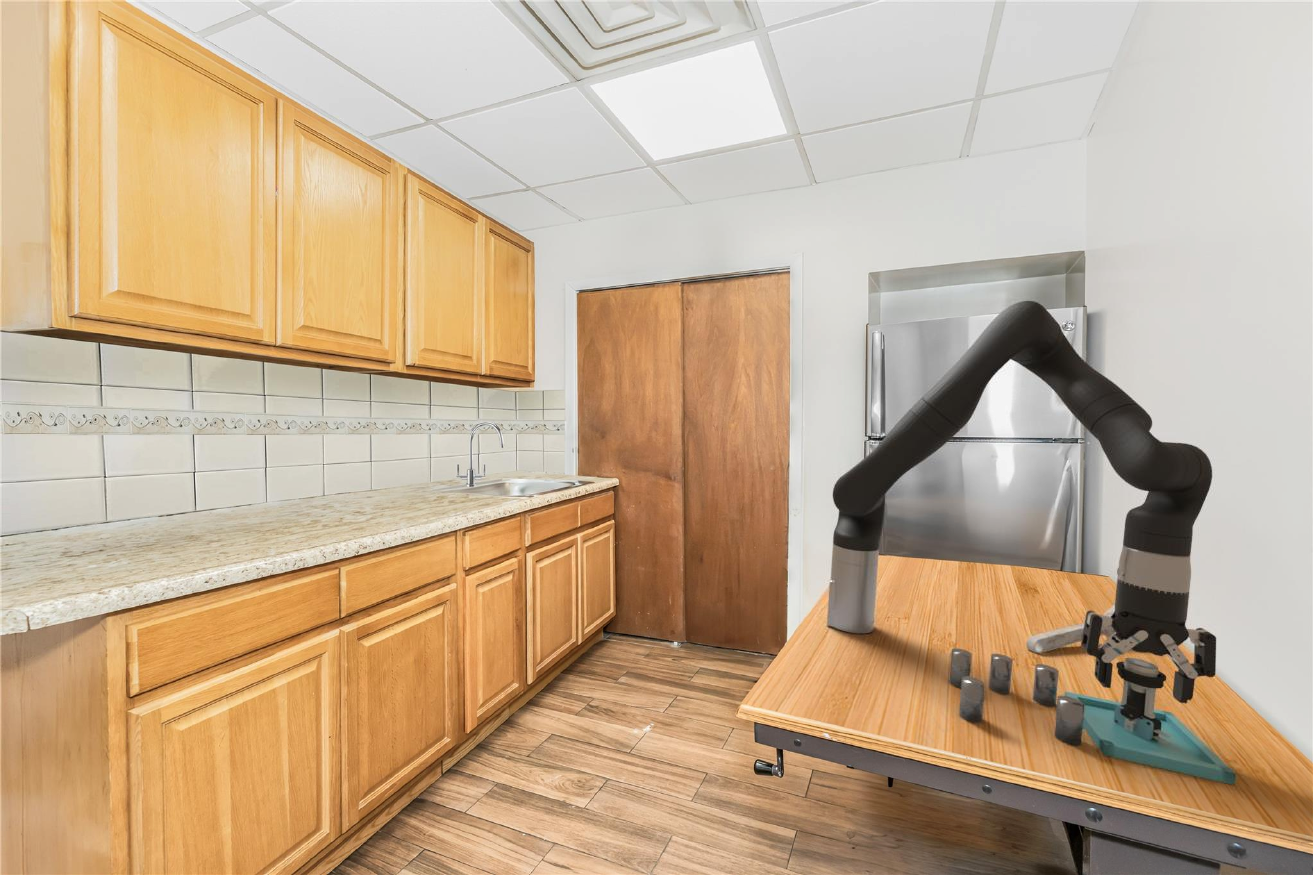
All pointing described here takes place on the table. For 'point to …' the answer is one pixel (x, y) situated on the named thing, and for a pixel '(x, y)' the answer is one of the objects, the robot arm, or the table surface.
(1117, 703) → the tray
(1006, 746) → the table surface
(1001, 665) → the standoff cluster
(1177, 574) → the robot arm
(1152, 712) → the push button
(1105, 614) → the wrench
